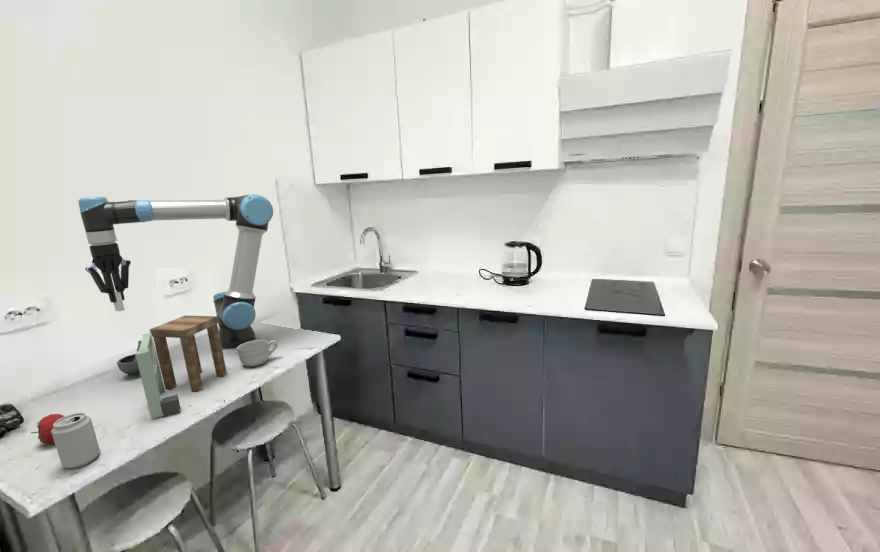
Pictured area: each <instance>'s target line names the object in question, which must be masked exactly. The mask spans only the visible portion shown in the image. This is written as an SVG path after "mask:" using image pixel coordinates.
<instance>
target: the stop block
mask: <svg viewBox="0 0 880 552" xmlns="http://www.w3.org/2000/svg"><path fill="white" fill-rule="evenodd" d="M178 395H179V394H177V393H176V394H173V395H169V396H166V397H165V396H164V397H161V401H162V403H161V404H162V409H163V413H164V416H163V417H164V418H167V417H172V416H175V415H178V414H181V404H180V399H179V396H178Z"/></svg>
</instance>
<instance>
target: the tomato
mask: <svg viewBox="0 0 880 552" xmlns="http://www.w3.org/2000/svg"><path fill="white" fill-rule="evenodd" d="M65 416H66V415H63V414H60V413H51V414H49V415H46V416H43V417H42V418H41V419H40V420H39V421H38V422H37V423H36V428H38V429H37V430H38V431H31V432H30V434H38V436H37V438H38V440H39V442H40V443H42V444H43V445H51V444H52V445H53V444H55V442H54V439H53V436H52V433H51V431H52V429H53V428H54V426H53V424H54V423H55V422H56V421H57V420H59V419H60V418H62V417H65Z"/></svg>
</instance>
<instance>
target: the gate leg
mask: <svg viewBox="0 0 880 552" xmlns="http://www.w3.org/2000/svg"><path fill="white" fill-rule="evenodd" d="M140 341H141V345H140V348H139V351H137V350H136V351H135V353H134V354H135V355H136V359H137V363H138V367H139V371H140V375H141V377H140V378H141V383H142V386H143V390H144V395H145V398H146V402H147V407H148V409H149V415H150V418H151V420H152V419H156V418H160V417H164V413H163V409H162V404H161V403H162V397H161V394H164V393H166V390H165V386H164V382H163V377H162V373H161V369H160V365H159V360H158V356H157V352H156V348H155V343H154V339H153V337H152V334H151V333H145V334H142V338H141V340H140Z"/></svg>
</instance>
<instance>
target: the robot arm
mask: <svg viewBox="0 0 880 552" xmlns="http://www.w3.org/2000/svg"><path fill="white" fill-rule="evenodd" d="M78 207H79V213H80V216H81V220H82V224H83V228H84V231H85V235H86V239H87V242H88V244H89V249H90V255H91V257H92V261H91V264H90V265H89V266H86V267H85V268H84V270H85V271H86V272H88V273H89V274H90V276H91V278H92V280H93V282H94V283H95V285H96V286H97V288H98V290H99V291H100V292H101V294H107V295H108V297H109V302H110V303H113V307H114V310H115V312H122V311H126V309H125V306H124V305H125V304H124V302H123V301H125V294H124V292H125V289H128V288H129V279H130V277H129V276H130V275H129V274H130V273H129V272H130V266H131V264H132V261H131V260H129V259H127V260H126V259H125V258H123V256H121V253H120V247H119V244H118V243H117V241H118V239H117V235H116V232H115V227H114V225H121V224H122V225H125V224H135V223H136V224H137V223H146V222H147V223H149V222H153V221H178V220H179V221H181V220H182V221H183V220H184V221H185V220H188V221H189V220H190V221H191V220H219V219H223V220H224V219H225V220H226V221H228V222H229V221H230V222H235V227H236V228H237V230H238V234H237V235H238V236H237V241H236V246H235V247H236V248H235V253H234V260H233V264H232V270H231V276H230V284H229V289H228V290H226V291H222V292H221V291H220V292H218V293H215V294H214V295H213V303H214V308H215V314H216V316H217V318H218V324H217V325H218V330H219V335H220V340H221V346H222V349H235V348H236V349H237V347H238V346H239V345H241V344H243V343H246V342H249V341H253V340H257V337H256V333H255V331H254V328H252V326H251V325H252V324H253V323H254V321H255V319H256V317H257V315H256V309H255V304H256V299H257V298H256V297H257V296H256V295H255V294H254V286H255V279H256V273H257V269H258V263H259V256H260V251H261V244H262V239H263V235H264V234H265V233H266V232H268V229H269V222H271V220H272V218H273V216H274V207H273V205H272V203H271V201H270V200H268V199H267V198H266V197H265V196H262V195H259V194H255V193H253V194H244V195H241V196H239V195H238V196H234V197H233V196H232V197H224V198H223V199H198V200H197V199H191V200H189V199H188V200H187V199H183V200H182V199H178V200H175V199H172V200H171V199H169V200H167V199H166V200H165V199H164V200H161V199H160V200H148V199H137V200H136V199H135V200H133V199H131V200H125V201H124V200H123V201H109V200H108V198H107V197H106V196H90V197H81V198H79V199H78ZM119 268H120V269H119ZM97 270H99V271H100V273H101V275H102V277H101V275H100V273H99V272H98V271H97ZM102 278H103V279H102Z"/></svg>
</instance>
